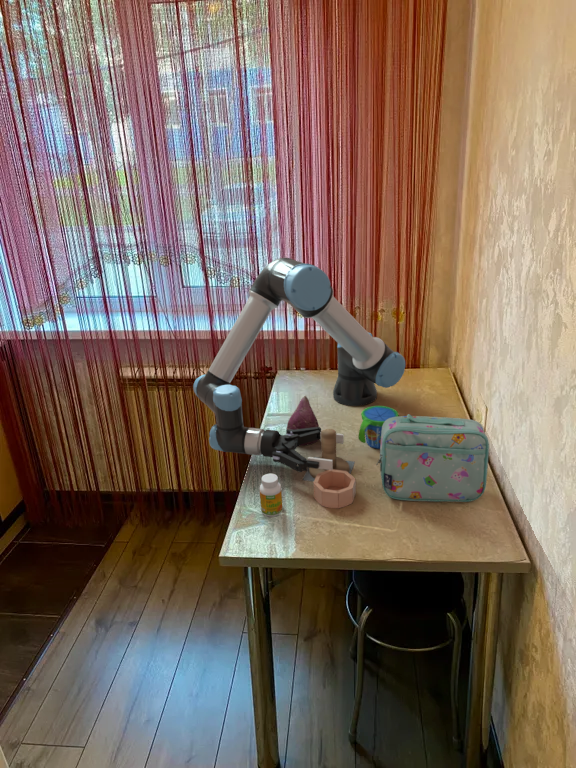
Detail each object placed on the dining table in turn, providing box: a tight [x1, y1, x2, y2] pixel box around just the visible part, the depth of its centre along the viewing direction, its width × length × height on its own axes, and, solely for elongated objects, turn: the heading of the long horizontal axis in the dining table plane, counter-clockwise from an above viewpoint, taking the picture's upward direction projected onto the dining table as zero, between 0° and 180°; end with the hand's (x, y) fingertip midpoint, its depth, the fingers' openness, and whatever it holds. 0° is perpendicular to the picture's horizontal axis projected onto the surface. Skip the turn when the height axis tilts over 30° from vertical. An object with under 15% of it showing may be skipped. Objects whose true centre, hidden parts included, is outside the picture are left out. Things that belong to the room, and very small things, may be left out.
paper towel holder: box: [309, 428, 349, 478], centre depth 151 cm, size 11×11×12 cm
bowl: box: [313, 469, 357, 509], centre depth 142 cm, size 10×10×5 cm
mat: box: [302, 456, 356, 483], centre depth 153 cm, size 12×12×1 cm
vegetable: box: [285, 395, 320, 447], centre depth 170 cm, size 10×10×15 cm
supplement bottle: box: [259, 472, 284, 518], centre depth 137 cm, size 5×5×10 cm
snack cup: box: [358, 405, 400, 450], centre depth 164 cm, size 16×10×10 cm
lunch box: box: [376, 413, 490, 503], centre depth 138 cm, size 27×10×21 cm, turn 82°
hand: (338, 451), depth 150 cm, fingers open, 13 cm apart
